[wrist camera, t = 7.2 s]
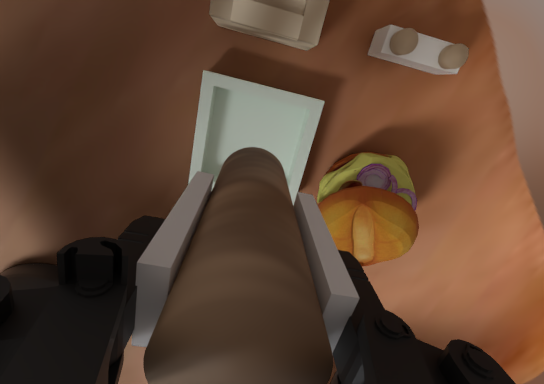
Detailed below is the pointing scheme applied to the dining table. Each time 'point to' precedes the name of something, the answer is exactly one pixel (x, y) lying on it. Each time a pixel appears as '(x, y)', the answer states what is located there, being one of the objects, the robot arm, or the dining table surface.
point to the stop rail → (417, 50)
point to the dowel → (243, 290)
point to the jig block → (273, 19)
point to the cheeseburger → (369, 206)
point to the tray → (253, 125)
